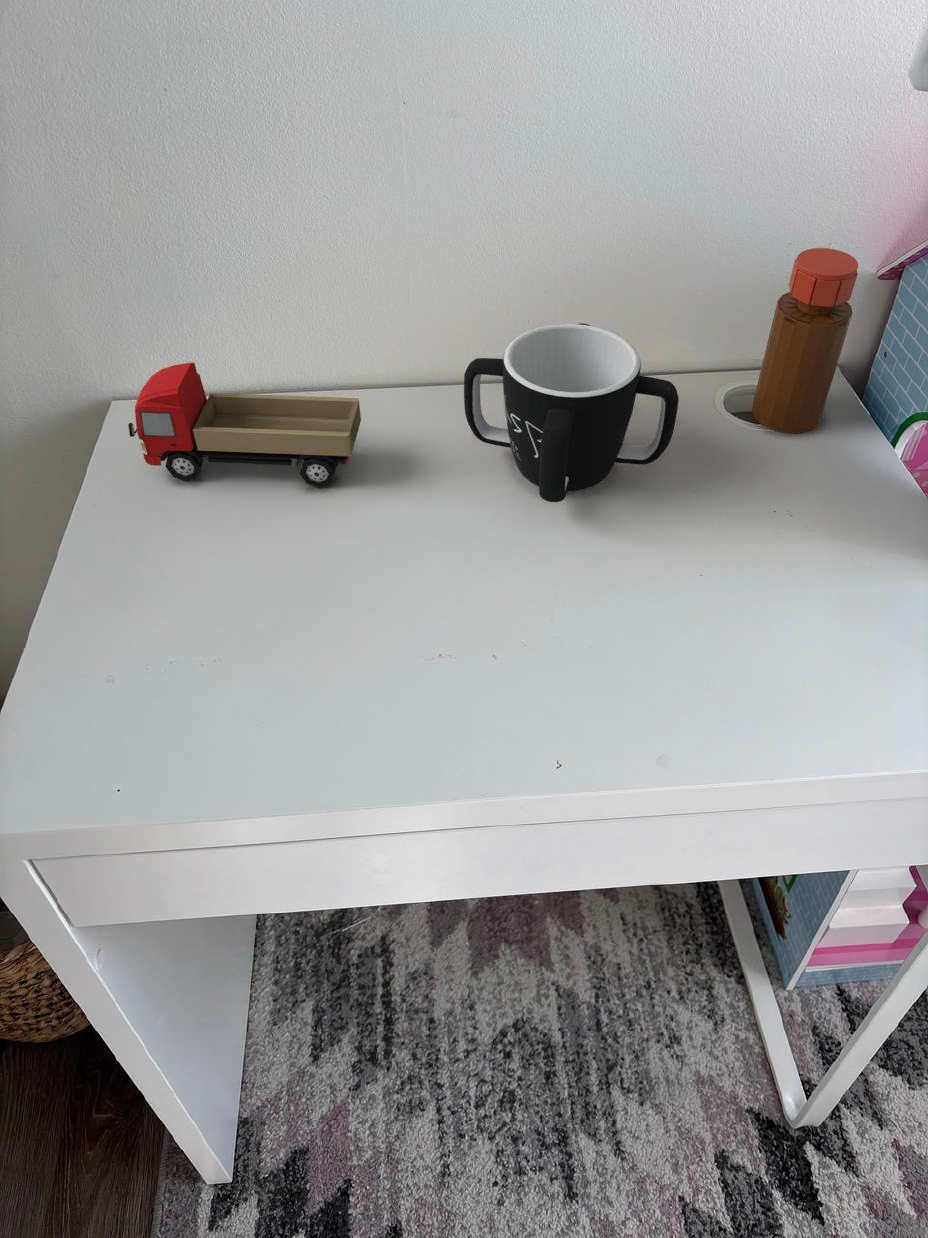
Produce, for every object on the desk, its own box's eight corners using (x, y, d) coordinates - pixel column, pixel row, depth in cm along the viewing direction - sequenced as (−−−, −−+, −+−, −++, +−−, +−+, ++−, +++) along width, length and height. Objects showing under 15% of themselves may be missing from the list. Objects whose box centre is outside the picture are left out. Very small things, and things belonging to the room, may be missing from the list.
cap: (861, 294, 89) (871, 263, 87) (823, 312, 87) (831, 281, 85) (815, 272, 92) (823, 242, 90) (777, 289, 90) (784, 258, 88)
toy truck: (163, 442, 97) (138, 354, 90) (364, 450, 96) (355, 361, 89) (142, 484, 93) (114, 395, 85) (354, 493, 91) (343, 403, 84)
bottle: (833, 417, 99) (880, 269, 87) (788, 441, 96) (831, 291, 85) (782, 388, 103) (820, 242, 91) (738, 410, 100) (771, 262, 88)
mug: (453, 442, 97) (451, 334, 88) (592, 402, 101) (602, 296, 93) (529, 540, 86) (535, 428, 78) (679, 490, 91) (701, 380, 82)
